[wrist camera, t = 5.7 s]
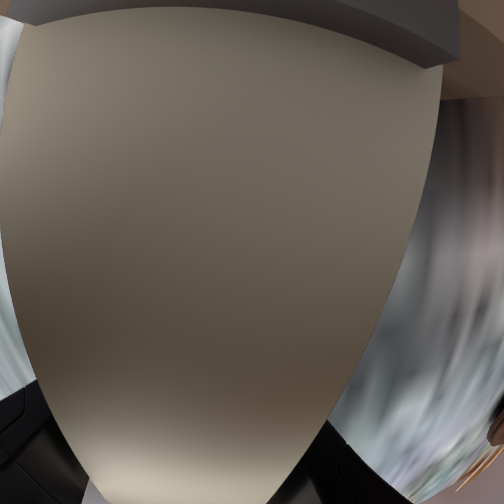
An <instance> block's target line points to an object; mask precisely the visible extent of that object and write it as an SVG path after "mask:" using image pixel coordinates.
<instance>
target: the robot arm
mask: <svg viewBox="0 0 504 504" xmlns="http://www.w3.org/2000/svg"><path fill="white" fill-rule="evenodd" d="M88 480H89V476H88V474H87V473H86V471H85V470H84V468H83V467H82V465H81V464H80V462H79V461H78V459H77V457H76V456H75V454H74V452H73V451H72V449H71V447H70V446H69V444H68V442H67V441H66V439H65V437H64V435H63V433H62V431H61V430H60V428H59V426H58V424H57V422H56V420H55V418H54V416H53V414H52V412H51V410H50V408H49V406H48V404H47V401H46V399H45V397H44V395H43V393H42V390H41V388H40V386H39V383H38V381H37V379H36V380H34V381H33V382H31V383H29V384H28V385H26V386H25V388H24V387H23V388H21V389H19V390H18V391H16V392H15V393H13V394H11V395H9V396H8V397H6V398H4V399H2V400H1V401H0V504H81V503H82V499H83V496H84V493H85V490H86V487H87V484H88ZM266 504H413V503H412V502H410V501H409V500H408V499H406V498H405V497H404V496H403V495H401V494H400V493H399V492H398V491H397V490H395V489H394V488H393V487H392V486H391V485H389V484H388V483H387V482H386V481H385V480H383V479H382V478H381V477H380V476H379V475H378V474H377V473H376V472H374V471H373V470H372V469H371V468H370V467H369V466H368V465H367V464H366V463H365V462H364V461H363V460H362V459H361V458H360V457H359V456H358V454H357V453H356V452H355V451H354V450H353V449H352V448H351V447H350V445H349V444H346V441H345V440H344V439H343V438H342V436H341V435H340V434H339V433H338V432H337V431H336V429H335V428H334V427H333V426H332V425H331V423H330V422H329V421H328V420H327V419H326V421H325V423H324V424H323V426H322V427H321V429H320V431H319V432H318V434H317V435H316V437H315V438H314V440H313V441H312V443H311V444H310V446H309V447H308V449H307V450H306V452H305V453H304V455H303V456H302V457H301V459H300V460H299V462H298V463H297V464H296V466H295V467H294V469H293V470H292V471H291V473H290V474H289V475H288V477H287V478H286V479H285V481H284V482H283V483H282V484H281V486H280V487H279V488H278V489H277V491H276V492H275V493H274V494H273V496H272V497H271V498H270V499H269V501H268V502H267V503H266Z"/></svg>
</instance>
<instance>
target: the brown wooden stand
mask: <svg viewBox="0 0 504 504" xmlns="http://www.w3.org/2000/svg"><path fill="white" fill-rule="evenodd" d="M487 439H488V441H489V442H490V444H491V446H497V445H500V444H504V409H503V410H502V411H501V413H500V414H499V416H498V417H497V418H496V420H495V421H494V423H493V424H492V426H491V427H490V429H489V431H488V434H487Z"/></svg>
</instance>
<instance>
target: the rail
mask: <svg viewBox="0 0 504 504" xmlns="http://www.w3.org/2000/svg"><path fill="white" fill-rule="evenodd" d="M5 15H7V16H9V17H12V18H15V19H18V20H20V21H23V22H25V24H24V27H23V30H22V33H21V36H20V39H19V43H18V46H17V49H16V53H15V57H14V60H13V64H12V68H11V73H10V77H9V82H8V87H7V92H6V97H5V103H4V110H3V117H2V125H1V134H0V230H1V239H2V248H3V255H4V262H5V268H6V274H7V279H8V284H9V289H10V294H11V298H12V303H13V307H14V311H15V315H16V318H17V322H18V326H19V329H20V332H21V336H22V339H23V342H24V345H25V348H26V351H27V354H28V357H29V360H30V363H31V365H32V368H33V371H34V373H35V376H36V378H37V381H38V383H39V386H40V388H41V390H42V393H43V395H44V397H45V399H46V401H47V404H48V406H49V408H50V410H51V412H52V414H53V416H54V418H55V420H56V422H57V424H58V426H59V428H60V430H61V431H62V433H63V435H64V437H65V439H66V441H67V442H68V444H69V446H70V447H71V449H72V451H73V452H74V454H75V456H76V457H77V459H78V461H79V462H80V464H81V465H82V467H83V468H84V470H85V471H86V473H87V474H88V476H89V477H90V479H91V480H92V482H93V483H94V484H95V486H96V487H97V488H98V490H99V491H100V492H101V494H102V495H103V496H104V498H105V499H106V500H107V502H111V503H114V504H266V503H267V502H268V501H269V499H270V498H271V497H272V496H273V494H274V493H275V492H276V491H277V489H278V488H279V487H280V486H281V484H282V483H283V482H284V481H285V479H286V478H287V477H288V475H289V474H290V473H291V471H292V470H293V469H294V467H295V466H296V464H297V463H298V462H299V460H300V459H301V457H302V456H303V455H304V453H305V452H306V450H307V449H308V447H309V446H310V444H311V443H312V441H313V440H314V438H315V437H316V435H317V434H318V432H319V431H320V429H321V427H322V426H323V424H324V423H325V421H326V419H327V418H328V416H329V415H330V413H331V411H332V410H333V408H334V406H335V404H336V403H337V401H338V399H339V398H340V396H341V394H342V392H343V390H344V389H345V387H346V385H347V383H348V381H349V380H350V378H351V376H352V374H353V372H354V370H355V368H356V366H357V364H358V362H359V360H360V358H361V356H362V354H363V352H364V350H365V348H366V346H367V344H368V342H369V340H370V338H371V336H372V333H373V331H374V329H375V327H376V325H377V322H378V320H379V318H380V316H381V313H382V311H383V308H384V306H385V304H386V301H387V299H388V296H389V294H390V291H391V289H392V286H393V284H394V281H395V278H396V276H397V273H398V270H399V268H400V265H401V262H402V259H403V256H404V253H405V250H406V247H407V244H408V241H409V238H410V235H411V232H412V229H413V225H414V222H415V218H416V215H417V211H418V208H419V204H420V201H421V197H422V193H423V189H424V185H425V181H426V176H427V172H428V168H429V163H430V158H431V153H432V148H433V143H434V137H435V131H436V125H437V118H438V111H439V103H440V95H441V85H442V73H443V64H446V63H450V62H454V61H458V60H460V21H459V6H458V0H11V2H10V4H9V7H8V9H7V12H6V14H5Z"/></svg>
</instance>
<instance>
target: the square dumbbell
mask: <svg viewBox="0 0 504 504" xmlns="http://www.w3.org/2000/svg"><path fill="white" fill-rule="evenodd" d="M10 2H11V0H0V15H2V16H5V17H8V18H11V19H14V20H16V21H19V22H22V23H24V24H25V22H23V21H20V20H18V19H15V18H12V17H9V16H7V15H5V14H6V12H7V9H8V7H9V4H10ZM458 6H459V21H460V60H458V61H454V62H450V63H446V64H443V73H442V85H441V95H440V100H451V99H463V98H479V97H504V0H458Z"/></svg>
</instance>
